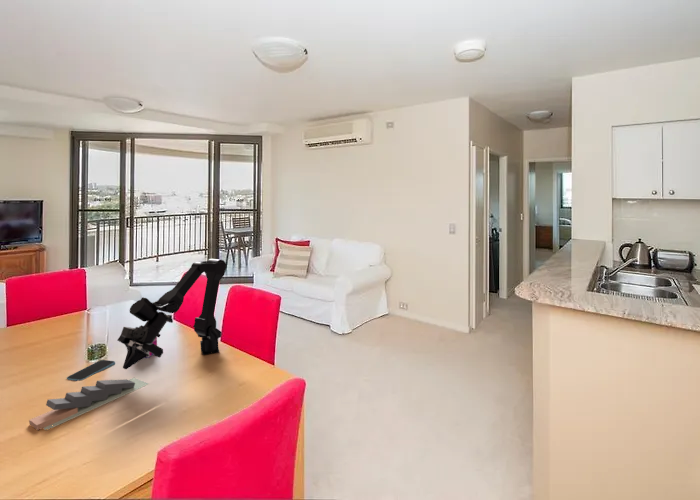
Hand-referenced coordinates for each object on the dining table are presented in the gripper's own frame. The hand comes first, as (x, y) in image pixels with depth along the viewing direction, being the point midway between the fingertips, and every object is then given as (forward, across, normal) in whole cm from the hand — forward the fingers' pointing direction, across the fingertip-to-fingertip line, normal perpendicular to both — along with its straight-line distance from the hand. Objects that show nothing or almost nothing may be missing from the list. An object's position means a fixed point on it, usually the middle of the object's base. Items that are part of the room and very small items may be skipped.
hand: (124, 368), depth 126 cm
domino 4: (+6, 0, +2) cm, 7 cm away
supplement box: (-9, -20, +19) cm, 29 cm away
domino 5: (+3, 0, +5) cm, 6 cm away
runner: (+12, 0, -2) cm, 12 cm away
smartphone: (+5, -24, +6) cm, 25 cm away
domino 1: (+15, 0, -7) cm, 17 cm away
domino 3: (+9, 0, -1) cm, 9 cm away
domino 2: (+13, 0, -4) cm, 13 cm away
